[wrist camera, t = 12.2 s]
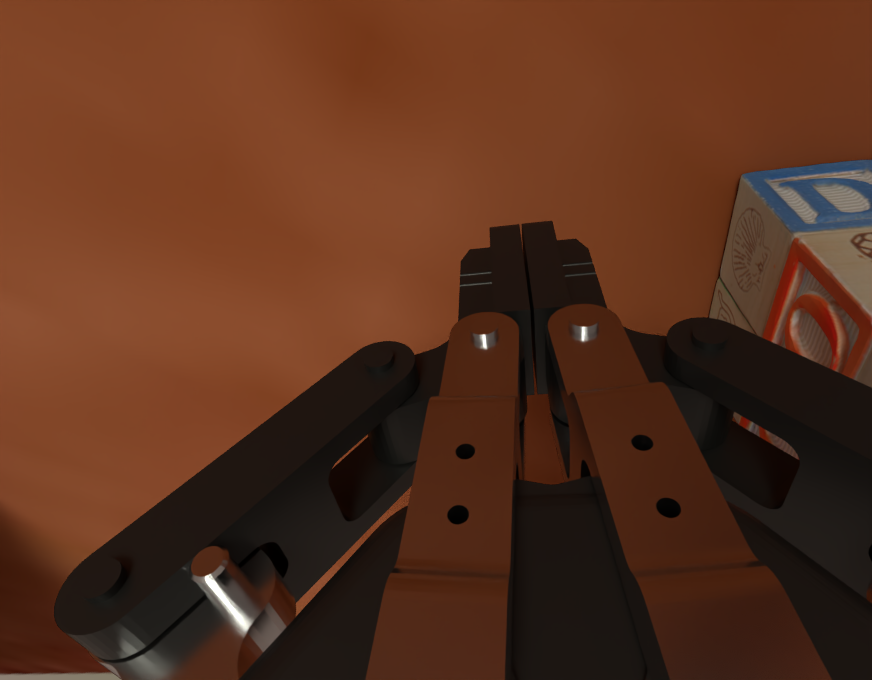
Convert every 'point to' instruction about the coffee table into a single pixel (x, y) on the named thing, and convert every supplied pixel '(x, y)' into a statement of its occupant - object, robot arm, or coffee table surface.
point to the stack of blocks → (802, 267)
